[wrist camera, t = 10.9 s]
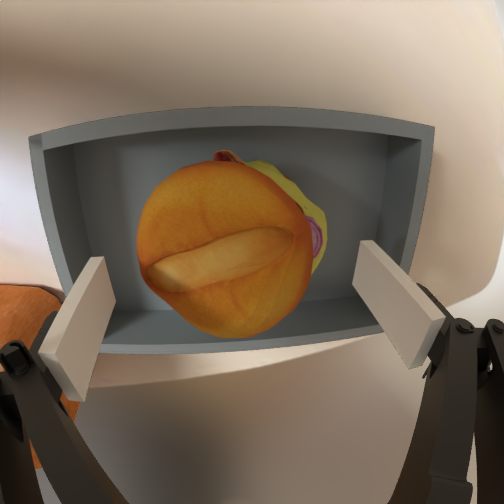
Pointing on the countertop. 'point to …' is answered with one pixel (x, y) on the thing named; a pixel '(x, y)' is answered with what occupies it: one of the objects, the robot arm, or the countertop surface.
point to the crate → (247, 149)
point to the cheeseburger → (230, 244)
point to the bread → (28, 326)
